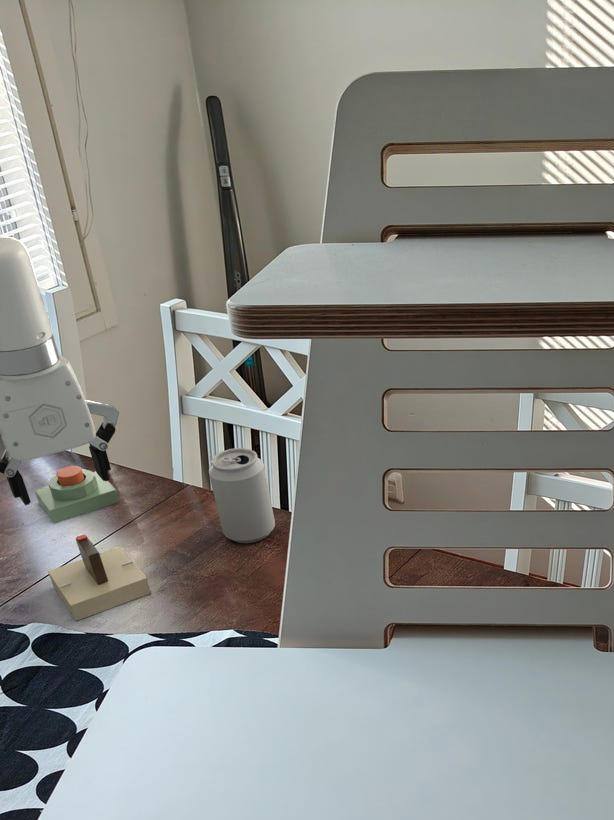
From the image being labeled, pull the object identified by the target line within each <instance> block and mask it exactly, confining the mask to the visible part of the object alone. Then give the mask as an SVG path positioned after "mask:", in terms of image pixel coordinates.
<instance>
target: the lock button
mask: <svg viewBox="0 0 614 820" xmlns="http://www.w3.org/2000/svg"><path fill="white" fill-rule="evenodd" d="M82 469H83V468H82V467H80V466H78V465H68V466H65V467H62V468H59V470H57V471H56V473H55V474H56V475H57V478H58V481H59V483H60V485H61V486H73V485H76V484H79V483H81V482H82V481H84V476H83V472H82ZM56 475H55V476H56Z"/></svg>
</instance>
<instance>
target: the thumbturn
mask: <svg viewBox="0 0 614 820" xmlns="http://www.w3.org/2000/svg"><path fill="white" fill-rule="evenodd" d="M75 542H76V544H77V548H78V550H79V553H80V557H81V560H82V559H83V562H84V565H85V567H86V569H87V570H88V572H89V573H90V574H91V576H92V577H93V579H94V580H95V581H96V583H97V584H98V585H99V584H102V583H105V582H108V578H107V575H106V572H105V569H104V566H103V563H102V560H101V557H100V552H99V551H98V549H97V548H96V547H95V545H94V544H93V543H92V541H91V540H90V538H89V537H88V535H87V534H85V533H84V534H81V535H77V536H76V537H75Z"/></svg>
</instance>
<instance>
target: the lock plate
mask: <svg viewBox="0 0 614 820" xmlns="http://www.w3.org/2000/svg"><path fill="white" fill-rule="evenodd" d="M99 554H100V557H101V560H102V563H103V566H104V569H105V572H106V575H107V578H108V582H105V583H102V584H99V585H98V584H97V583H96V581H95V580H94V579H93V577H92V576H91V574H90V573H89V572H88V570H87V569H86V567H85V565H84V562H83V559H82V558H81V559H79V560H77V561H74V562H71V563H68V564H65V565H62V566H59V567H57V568H54V569H51V570H48V571H47V573H48V576H49V578H50V581H51V584H52V586H53V589H54V590H55V592H56V593H57V594H58V597H60V599H61V601H62V602H63V603H64V605H65V607H66V608H67V610H68V611H69V613H70V615H72V617H73V619H74V620H75V622H78V621H80V620H83V619H86V618H88V617H91V616H94V615H96V614H99V613H102V612H104V611H107V610H110V609H113V608H115V607H118V606H121V605H125V604H126V603H130V602H131V601H134V600H138V599H139V598H142V597H145V596H147V595H150V594H152V591H151V587H150V584H149V581H148V578H147V576H146V575H145V574H144V572H142V570H141V569H140V568H139V566H138V565H137V564H136V562H135V561H134V560H133V559H132V558H131V557H130V555H129V554H128V552H126V550H125V549H124V548H123V546H122V545H120V546H117V547H115V548H112V549H111V548H110V549H109V550H105V551H103V552H99Z"/></svg>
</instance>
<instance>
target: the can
mask: <svg viewBox="0 0 614 820" xmlns="http://www.w3.org/2000/svg"><path fill="white" fill-rule="evenodd" d="M265 468H266V467H265V464H264V462H263V460H262V459H261V458H259V457H258V453H257V452H256V451H255V450H252V449H251V448H246V447H235V448H229V449H226V450H222V451H220V452H218V453H217V454H215V455H214V456H213V458H211V466H210V467H209V469H208V476H209V480H210V483H211V489H212V492H213V497H214V501H215V506H216V510H217V514H218V517H219V518H218V519H219V523H220V527H221V530H222V531H221V532H222V534H223V535H224V537H226V538H227V539H229V540H231V541H233V542H234V543H235V542H236V543H240V544H251V543H256V542H259V541H262V540H263V539H266V538H267V537H268V536H269V535H270V533H271V532H272V531H273V530H274V528H275V526H276V520H275V515H274V509H273V504H272V499H271V494H270V490H269V484H268V480H267V474H266V469H265Z"/></svg>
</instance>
